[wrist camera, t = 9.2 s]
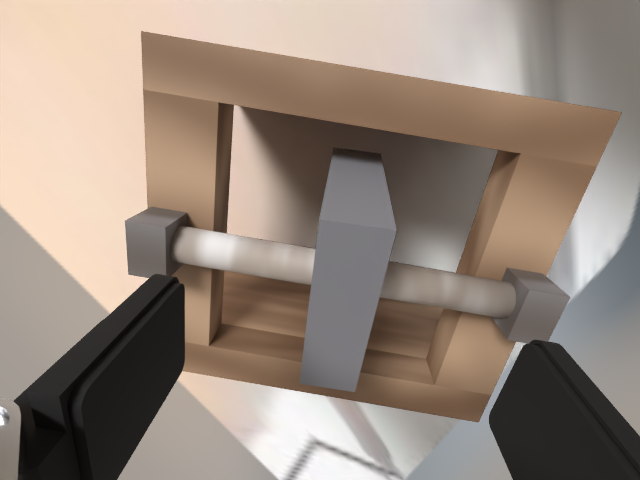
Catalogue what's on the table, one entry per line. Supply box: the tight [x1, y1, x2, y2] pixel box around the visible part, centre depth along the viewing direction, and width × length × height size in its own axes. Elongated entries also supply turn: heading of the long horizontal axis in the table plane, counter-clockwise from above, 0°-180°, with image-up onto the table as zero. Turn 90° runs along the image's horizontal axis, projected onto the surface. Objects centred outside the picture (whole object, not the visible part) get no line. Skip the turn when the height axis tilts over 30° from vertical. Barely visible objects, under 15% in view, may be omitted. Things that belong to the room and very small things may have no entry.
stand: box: [125, 31, 622, 422], centre depth 20 cm, size 16×18×14 cm
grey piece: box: [299, 148, 397, 392], centre depth 16 cm, size 8×2×8 cm, turn 173°
